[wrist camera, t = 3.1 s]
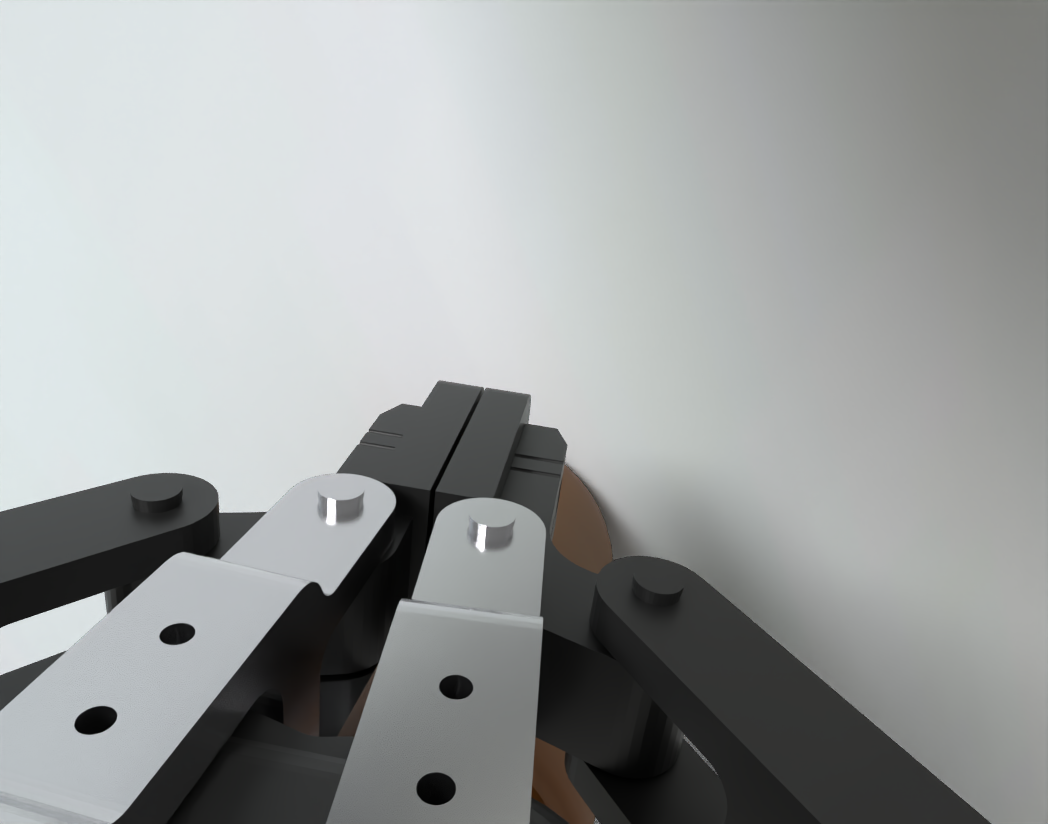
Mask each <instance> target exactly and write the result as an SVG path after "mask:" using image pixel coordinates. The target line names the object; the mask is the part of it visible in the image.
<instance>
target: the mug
mask: <svg viewBox="0 0 1048 824" xmlns="http://www.w3.org/2000/svg"><path fill="white" fill-rule="evenodd" d="M552 543H553V545H554V546H555V547H556V549H557V550H558V551H559V552H560V553H561V554H562V555H563V556H564V557H566V558H567V559H568V560H570V561H571V562H573V563H574V564H576V565H578V566H580V567H582V568H584V569H586V570H589V571H591V572H594V573H596V574H598V573H599V572H600V571H601V569H602V568H603V567H604V566H605V565H607V564H608V563H610V562H612V561H613V558H612V547H611V542H610V538H609V534H608V530H607V527H606V523H605V521H604V518H603V516H602V514H601V511H600V509H599V507H598V505H597V503H596V502H595V500H594V498H593V497H592V495H591V493H590V492H589V490H588V489H587V488H586V487H585V485H584V484H583V483H582V482H581V480H580V479H579V478H578V477H577V476H576V475H575V474H574V473H573V472H572V471H571V470H570V469H569V468H568V467H567V466H566V465H565V464H564V470H563V477H562V483H561V490H560V497H559V503H558V510H557V517H556V523H555V529H554V534H553V539H552ZM355 734H356V733H355ZM355 734H354V736H355ZM564 760H565V751H563V750H561V749H559V748H557V747H555V746H553V745H551V744H549V743H547V742H545V741H543V740H540V739H538V738H536V737H535V749H534V764H533V779H532V794H531V797H532V798H534V799H535V800H537V801H539V802H540V803H542V804H544V805H546V806H547V807H549V808H550V809H551V810H553V811H554V812H555V813H557V814H558V815H559V816H561V817H562V818H563V819H565V820H566V821H567V822H568V823H569V824H594V821H595V815H594V814H593V813H592V811H591V810H590V808H589V807H588V806H587V804H586V803H585V802H584V800H583V799H582V797H581V796H580V795H579V793H578V792H577V790H576V789H575V788H574V786H573V785H572V783H571V781H570V780H569V778H568V775H567V773H566V770H565V764H564Z"/></svg>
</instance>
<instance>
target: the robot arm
mask: <svg viewBox="0 0 1048 824" xmlns="http://www.w3.org/2000/svg"><path fill="white" fill-rule="evenodd" d="M530 403H531V395H528V394H522V393H516V392H510V391H503V390H497V389H491V388H486V389H485V391H484V388H483V387H478V386H471V385H465V384H459V383H453V382H446V381H438V382H437V384H436V385H435V387H434V388H433V390H432V392H431V393H430V395H429V396H428V398H427V399H426V401H425V402H424V404H423V405H422V407H419V406H413V405H407V404H401V405H399V406H397V407H395V408H393V409H391V410H388V411H386V412H384V413H382V414H380V415H379V417H378V418H377V419H376V421H375V422H374V423H373V425H372V426H371V427H370V429H369V432H367V433H366V434H365V436H364V437H363V438H362V440H361V441H360V445H357V446H356V448H355V449H354V450H353V452H352V453H351V454H350V456H349V457H348V458H347V460H346V461H345V462H344V464H343V465H342V466H341V468H340V469H339V470H338V472H337V473H336V474H325V475H320V476H315V477H312V478H309V479H306V480H304V481H301V482H300V483H298V484H296V485H295V486H293V487H292V488H291V489H290V490H289V491H288V492H287V493H286V494H285V495H284V496H283V497H282V498H281V499H280V500H279V501H278V502H277V503H276V504H275V505H274V506H273V507H272V508H271V509H270V510H269V511H268V512H252V513H219V501H218V493H217V490H216V489H215V488H214V486H213V485H211V484H210V483H209V482H207V481H205V480H203V479H201V478H198V477H195V476H190V475H186V474H177V473H159V474H149V475H143V476H138V477H134V478H130V479H126V480H122V481H118V482H114V483H111V484H107V485H103V486H99V487H95V488H91V489H87V490H83V491H79V492H76V493H72V494H68V495H64V496H60V497H56V498H52V499H48V500H45V501H41V502H37V503H33V504H29V505H25V506H21V507H17V508H13V509H10V510H6V511H2V512H0V628H1V627H3V626H5V625H8V624H10V623H13V622H16V621H19V620H22V619H25V618H28V617H31V616H34V615H37V614H40V613H43V612H46V611H49V610H52V609H55V608H58V607H61V606H64V605H66V604H69V603H72V602H75V601H78V600H81V599H84V598H87V597H90V596H93V595H96V594H99V593H102V592H105V600H106V609H107V615H106V616H105V617H104V618H103V619H102V620H101V621H99V622H98V623H97V624H96V625H95V626H94V627H93V628H92V629H91V630H89V631H88V632H87V633H86V634H85V635H84V636H83V637H82V638H81V639H80V640H78V641H77V642H76V643H75V644H74V645H73V646H72V647H71V648H70V649H68V650H67V651H64V652H62V653H59V654H56V655H54V656H51V657H48V658H46V659H43V660H40V661H38V662H35V663H32V664H30V665H27V666H24V667H21V668H19V669H16V670H13V671H11V672H8V673H5V674H3V675H0V824H569V823H568V822H567V821H566V820H565V819H563V818H562V817H561V816H559V815H558V814H557V813H555V812H554V811H553V810H551V809H550V808H549V807H547V806H546V805H544V804H542V803H540V802H539V801H537V800H535V799H534V798H532V797H531V794H532V779H533V764H534V749H535V737H536V738H538V739H540V740H543V741H545V742H547V743H549V744H551V745H553V746H555V747H557V748H559V749H561V750H563V751H565V760H564V764H565V770H566V773H567V775H568V778H569V780H570V781H571V783H572V785H573V786H574V788H575V789H576V790H577V792H578V793H579V795H580V796H581V797H582V799H583V800H584V802H585V803H586V804H587V806H588V807H589V808H590V810H591V811H592V813H593V814H594V815H595V817H596V818H597V820H598V821H599V822H600V824H991V823H990V822H989V821H987V820H986V819H985V818H984V817H983V816H982V815H980V814H979V813H978V812H977V811H976V810H975V809H973V808H972V807H971V806H970V805H969V804H967V803H966V802H965V801H964V800H963V799H962V798H960V797H959V796H958V795H957V794H956V793H954V792H953V791H952V790H951V789H950V788H949V787H947V786H946V785H945V784H944V783H943V782H942V781H940V780H939V779H938V778H937V777H936V776H934V775H933V774H932V773H931V772H930V771H929V770H927V769H926V768H925V767H924V766H923V765H922V764H920V763H919V762H918V761H917V760H916V759H914V758H913V757H912V756H911V755H910V754H909V753H907V752H906V751H905V750H904V749H903V748H901V747H900V746H899V745H898V744H897V743H896V742H894V741H893V740H892V739H891V738H890V737H889V736H887V735H886V734H885V733H884V732H883V731H881V730H880V729H879V728H878V727H877V726H876V725H874V724H873V723H872V722H871V721H870V720H869V719H867V718H866V717H865V716H864V715H863V714H861V713H860V712H859V711H858V710H857V709H856V708H854V707H853V706H852V705H851V704H850V703H848V702H847V701H846V700H845V699H844V698H843V697H841V696H840V695H839V694H838V693H837V692H836V691H834V690H833V689H832V688H831V687H830V686H828V685H827V684H826V683H825V682H824V681H823V680H821V679H820V678H819V677H818V676H817V675H816V674H814V673H813V672H812V671H811V670H810V669H808V668H807V667H806V666H805V665H804V664H803V663H801V662H800V661H799V660H798V659H797V658H795V657H794V656H793V655H792V654H791V653H790V652H788V651H787V650H786V649H785V648H784V647H783V646H781V645H780V644H779V643H778V642H777V641H775V640H774V639H773V638H772V637H771V636H770V635H768V634H767V633H766V632H765V631H764V630H763V629H761V628H760V627H759V626H758V625H757V624H755V623H754V622H753V621H752V620H751V619H750V618H748V617H747V616H746V615H745V614H744V613H742V612H741V611H740V610H739V609H738V608H737V607H735V606H734V605H733V604H732V603H731V602H730V601H728V600H727V599H726V598H725V597H724V596H722V595H721V594H720V593H719V592H718V591H717V590H715V589H714V588H713V587H712V586H711V585H710V584H708V583H707V582H706V581H705V580H704V579H702V578H701V577H700V576H699V575H697V574H696V573H695V572H693V571H691V570H689V569H688V568H686V567H684V566H681V565H679V564H677V563H674V562H671V561H668V560H664V559H660V558H655V557H648V556H631V557H624V558H620V559H617V560H614V561H612V562H610V563H608V564H607V565H605V566H604V567H603V568H602V569H601V571H600V572H599V573H598V574H596V573H594V572H591V571H589V570H586V569H584V568H582V567H580V566H578V565H576V564H574V563H573V562H571V561H570V560H568V559H567V558H566V557H564V556H563V555H562V554H561V553H560V552H559V551H558V550H557V549H556V547H555V546H554V545H553V543H552V539H553V534H554V529H555V523H556V517H557V510H558V503H559V497H560V490H561V483H562V477H563V470H564V464H565V457H566V450H567V444H566V442H565V441H564V439H563V437H562V436H561V434H560V432H559V431H558V429H555V428H549V427H543V426H537V425H531V424H528V421H529V413H530ZM355 733H356V734H355ZM354 734H355V736H354ZM684 734H685V736H686V737H687V738H688V739H689V740H690V741H691V742H692V743H693V744H694V745H695V746H696V748H697V749H698V750H699V751H700V752H701V753H702V754H703V755H704V756H705V757H706V759H707V760H708V761H709V762H710V763H711V764H712V766H713V767H714V769H715V770H716V772H717V774H718V775H719V777H720V778H719V777H718V776H717V775H716V774H715V773H714V772H713V771H712V769H711V768H710V767H709V766H708V765H707V764H706V763H705V762H704V761H703V760H702V758H701V757H700V756H699V755H698V754H697V753H696V752H695V751H694V750H693V748H692V747H691V746H690V745H689V744H688V743H687V742H686V741H685V740H684V739H683V737H684Z"/></svg>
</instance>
